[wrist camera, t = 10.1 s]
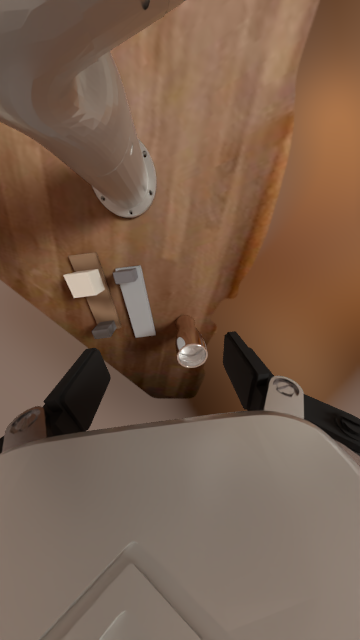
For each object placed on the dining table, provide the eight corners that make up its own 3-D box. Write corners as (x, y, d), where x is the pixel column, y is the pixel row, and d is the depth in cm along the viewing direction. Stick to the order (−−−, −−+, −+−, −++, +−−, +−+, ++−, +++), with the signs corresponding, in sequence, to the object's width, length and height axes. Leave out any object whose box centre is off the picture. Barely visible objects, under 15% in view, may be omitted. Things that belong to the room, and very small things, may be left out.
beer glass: (179, 336, 46) (184, 372, 33) (169, 319, 43) (170, 351, 30) (199, 327, 45) (212, 361, 32) (191, 309, 42) (201, 337, 29)
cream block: (77, 271, 34) (63, 275, 30) (97, 268, 34) (87, 272, 30) (85, 291, 37) (73, 298, 32) (105, 289, 37) (96, 295, 32)
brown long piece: (70, 255, 34) (52, 257, 28) (96, 252, 34) (82, 253, 28) (101, 328, 43) (91, 340, 37) (121, 326, 43) (114, 337, 37)
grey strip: (116, 268, 36) (107, 272, 30) (140, 265, 36) (135, 268, 30) (136, 335, 45) (132, 347, 39) (155, 333, 45) (153, 344, 39)
